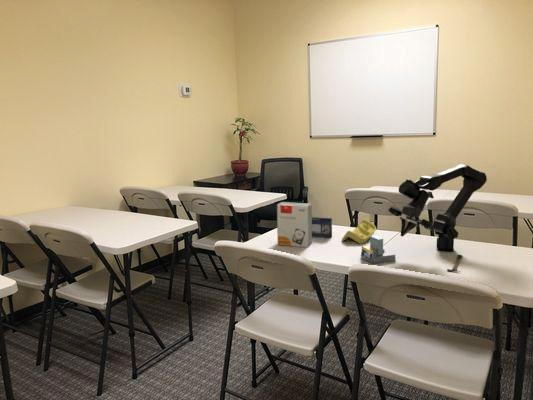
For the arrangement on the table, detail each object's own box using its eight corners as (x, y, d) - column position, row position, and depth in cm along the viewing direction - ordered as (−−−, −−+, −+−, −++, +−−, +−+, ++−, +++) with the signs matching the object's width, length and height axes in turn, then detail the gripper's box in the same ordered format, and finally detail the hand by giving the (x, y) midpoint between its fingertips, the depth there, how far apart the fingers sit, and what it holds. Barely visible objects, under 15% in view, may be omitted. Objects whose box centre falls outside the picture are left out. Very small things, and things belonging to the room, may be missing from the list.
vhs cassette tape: (296, 236, 213) (295, 217, 211) (297, 234, 215) (297, 216, 214) (331, 238, 206) (331, 219, 205) (332, 236, 209) (332, 217, 207)
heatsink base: (383, 254, 178) (383, 243, 178) (395, 260, 170) (395, 248, 169) (360, 257, 175) (360, 246, 174) (372, 264, 167) (372, 252, 166)
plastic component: (364, 240, 194) (346, 229, 198) (357, 252, 197) (340, 241, 201) (379, 227, 209) (362, 217, 213) (373, 239, 212) (356, 229, 217)
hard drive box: (277, 245, 198) (275, 204, 194) (282, 240, 205) (281, 201, 201) (308, 247, 192) (307, 206, 188) (312, 243, 199) (312, 203, 195)
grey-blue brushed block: (374, 253, 175) (375, 235, 174) (382, 257, 170) (383, 238, 168) (363, 254, 174) (363, 236, 172) (370, 259, 168) (371, 240, 167)
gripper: (392, 190, 173) (376, 223, 173) (435, 207, 162) (417, 242, 162) (399, 197, 182) (384, 228, 182) (440, 213, 171) (423, 246, 171)
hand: (401, 236), depth 174 cm, fingers closed
